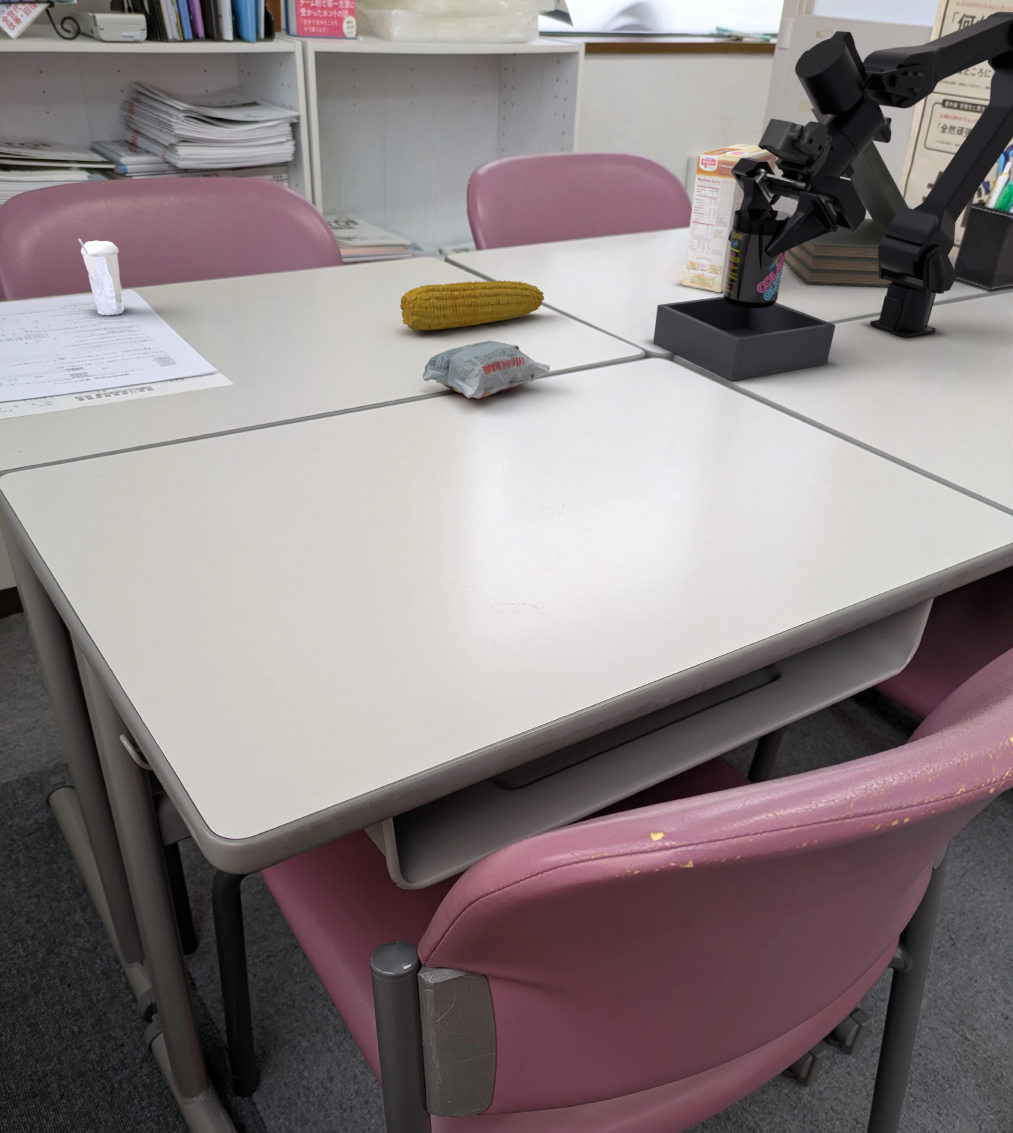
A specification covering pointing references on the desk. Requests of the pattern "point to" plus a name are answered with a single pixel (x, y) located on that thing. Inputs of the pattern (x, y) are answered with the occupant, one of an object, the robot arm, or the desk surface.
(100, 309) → the milkshake
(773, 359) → the square tray
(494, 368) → the packaged food
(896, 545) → the desk surface
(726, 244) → the coffeecake box
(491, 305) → the food
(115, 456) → the desk surface
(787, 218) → the supplement container
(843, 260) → the stack of books
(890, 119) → the robot arm
